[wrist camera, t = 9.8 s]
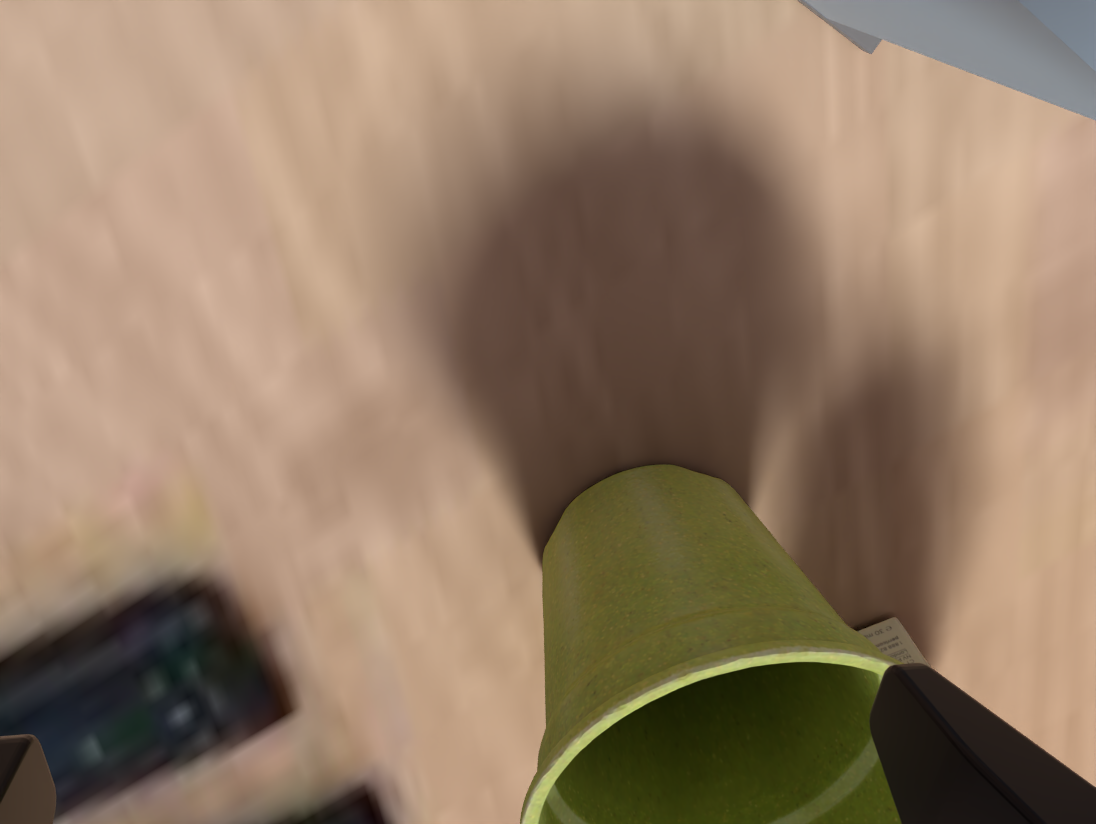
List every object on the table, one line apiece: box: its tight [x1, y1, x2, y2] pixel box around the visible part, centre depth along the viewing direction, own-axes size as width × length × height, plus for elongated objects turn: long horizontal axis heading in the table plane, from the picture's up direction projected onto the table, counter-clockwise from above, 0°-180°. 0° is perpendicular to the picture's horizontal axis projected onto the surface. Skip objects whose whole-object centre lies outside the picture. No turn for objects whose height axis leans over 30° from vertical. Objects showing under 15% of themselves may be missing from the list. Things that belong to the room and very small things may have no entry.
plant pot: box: [520, 465, 904, 824], centre depth 23 cm, size 9×9×9 cm
